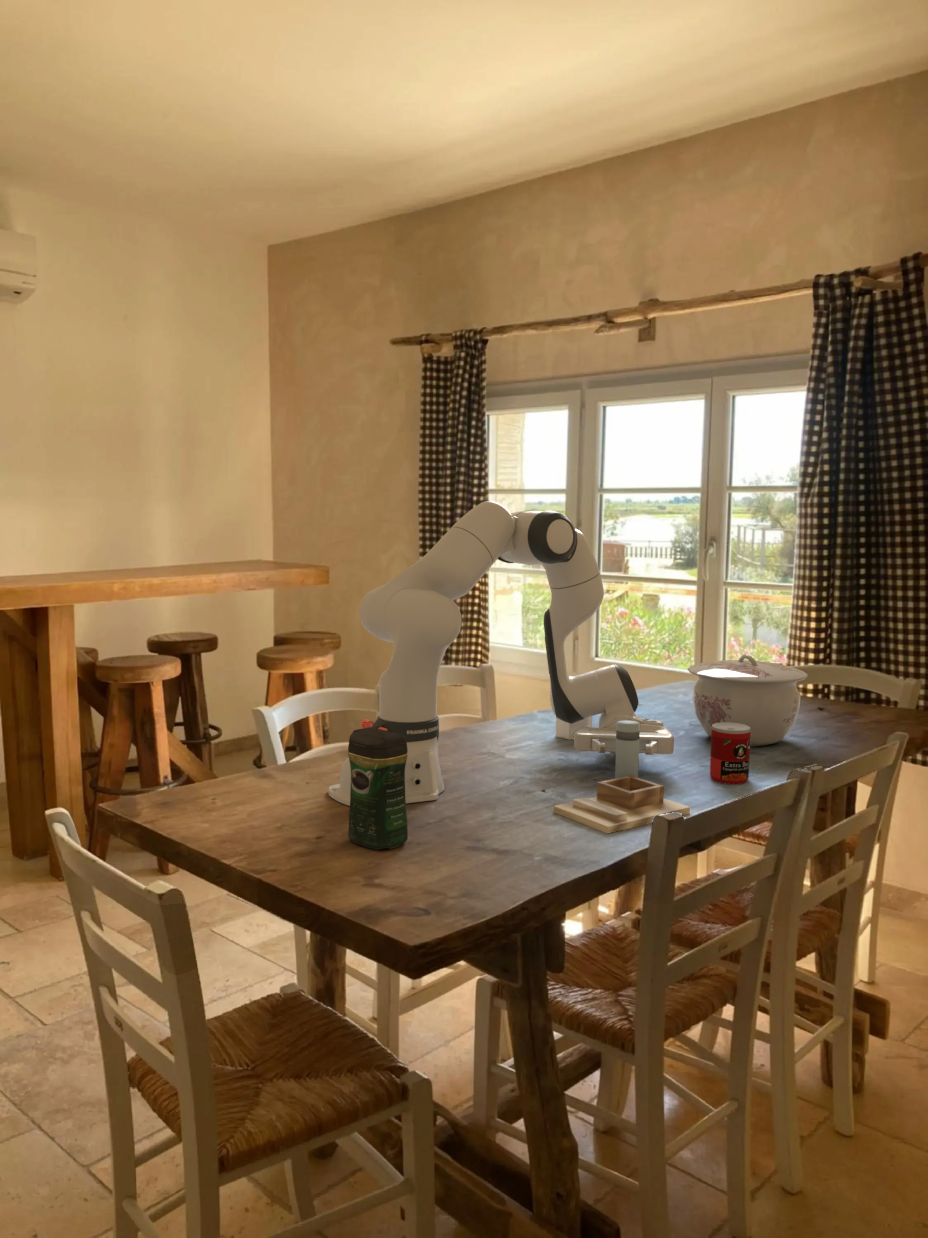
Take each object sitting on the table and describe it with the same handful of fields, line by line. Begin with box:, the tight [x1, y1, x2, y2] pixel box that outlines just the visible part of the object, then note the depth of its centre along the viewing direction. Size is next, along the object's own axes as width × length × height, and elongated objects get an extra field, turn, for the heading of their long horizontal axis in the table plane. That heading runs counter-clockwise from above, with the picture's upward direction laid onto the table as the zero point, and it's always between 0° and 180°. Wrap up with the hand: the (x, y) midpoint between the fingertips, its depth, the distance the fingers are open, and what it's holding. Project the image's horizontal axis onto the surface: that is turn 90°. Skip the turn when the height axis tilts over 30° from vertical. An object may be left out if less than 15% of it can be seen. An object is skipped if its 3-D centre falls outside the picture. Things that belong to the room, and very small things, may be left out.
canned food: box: [709, 722, 751, 785], centre depth 196 cm, size 8×8×11 cm
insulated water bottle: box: [614, 720, 640, 779], centre depth 189 cm, size 4×4×13 cm
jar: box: [555, 716, 593, 741], centre depth 233 cm, size 9×8×12 cm
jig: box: [553, 775, 691, 834], centre depth 173 cm, size 20×14×4 cm
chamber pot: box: [687, 653, 809, 747], centre depth 230 cm, size 28×28×21 cm
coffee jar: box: [347, 727, 409, 850], centre depth 156 cm, size 10×8×19 cm
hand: (625, 750), depth 192 cm, fingers open, 8 cm apart
